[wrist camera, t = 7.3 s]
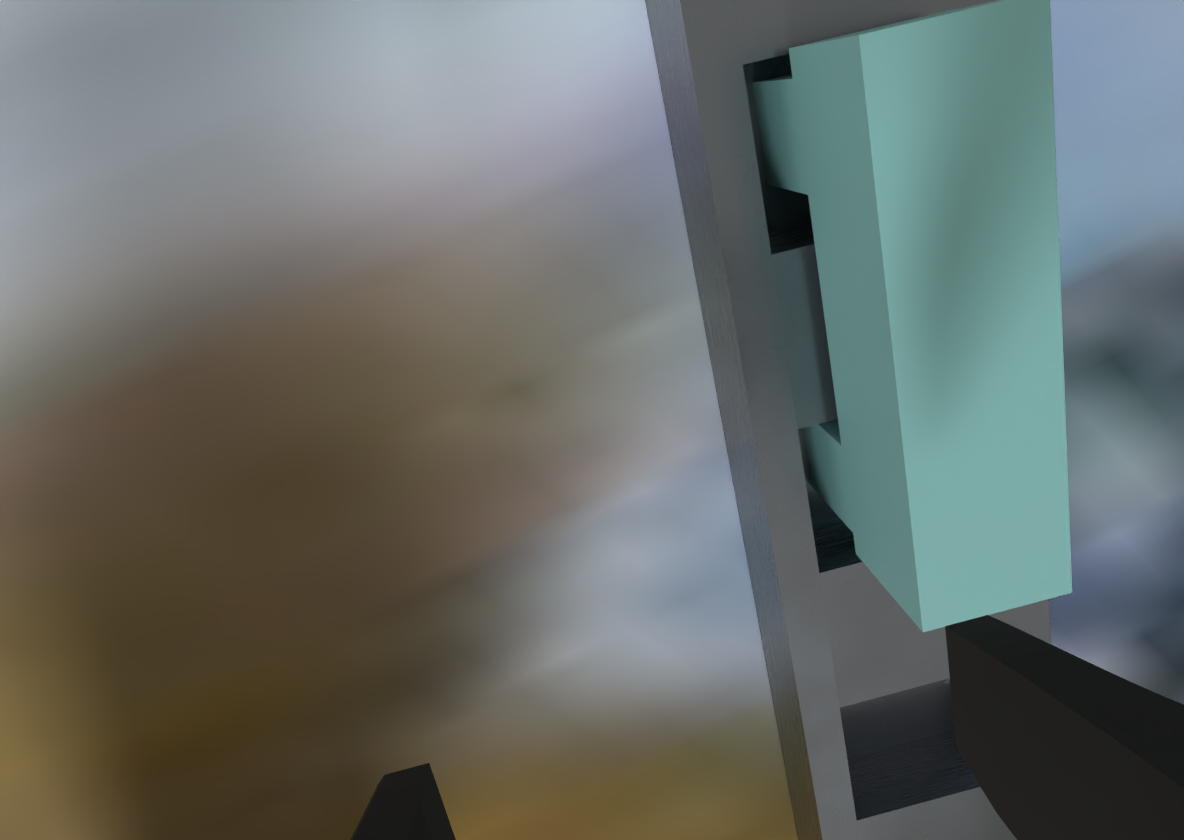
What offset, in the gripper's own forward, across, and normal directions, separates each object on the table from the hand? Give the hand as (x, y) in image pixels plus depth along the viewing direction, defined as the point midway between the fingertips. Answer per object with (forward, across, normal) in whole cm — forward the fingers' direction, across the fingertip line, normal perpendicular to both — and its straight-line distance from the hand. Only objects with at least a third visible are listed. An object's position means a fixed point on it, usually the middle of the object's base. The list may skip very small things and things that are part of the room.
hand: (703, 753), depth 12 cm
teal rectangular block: (+9, -6, -4) cm, 11 cm away
